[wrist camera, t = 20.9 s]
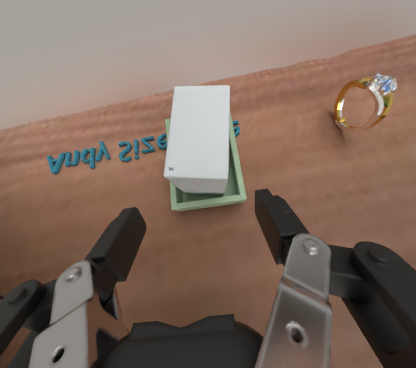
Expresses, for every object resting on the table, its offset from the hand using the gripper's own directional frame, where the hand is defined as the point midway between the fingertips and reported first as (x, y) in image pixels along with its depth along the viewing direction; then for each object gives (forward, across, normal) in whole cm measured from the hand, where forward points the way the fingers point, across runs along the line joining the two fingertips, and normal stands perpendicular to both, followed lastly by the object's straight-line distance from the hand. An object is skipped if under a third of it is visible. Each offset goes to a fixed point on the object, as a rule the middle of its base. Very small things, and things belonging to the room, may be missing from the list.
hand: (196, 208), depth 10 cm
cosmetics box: (+15, -1, +4) cm, 16 cm away
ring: (+19, -23, +1) cm, 30 cm away
